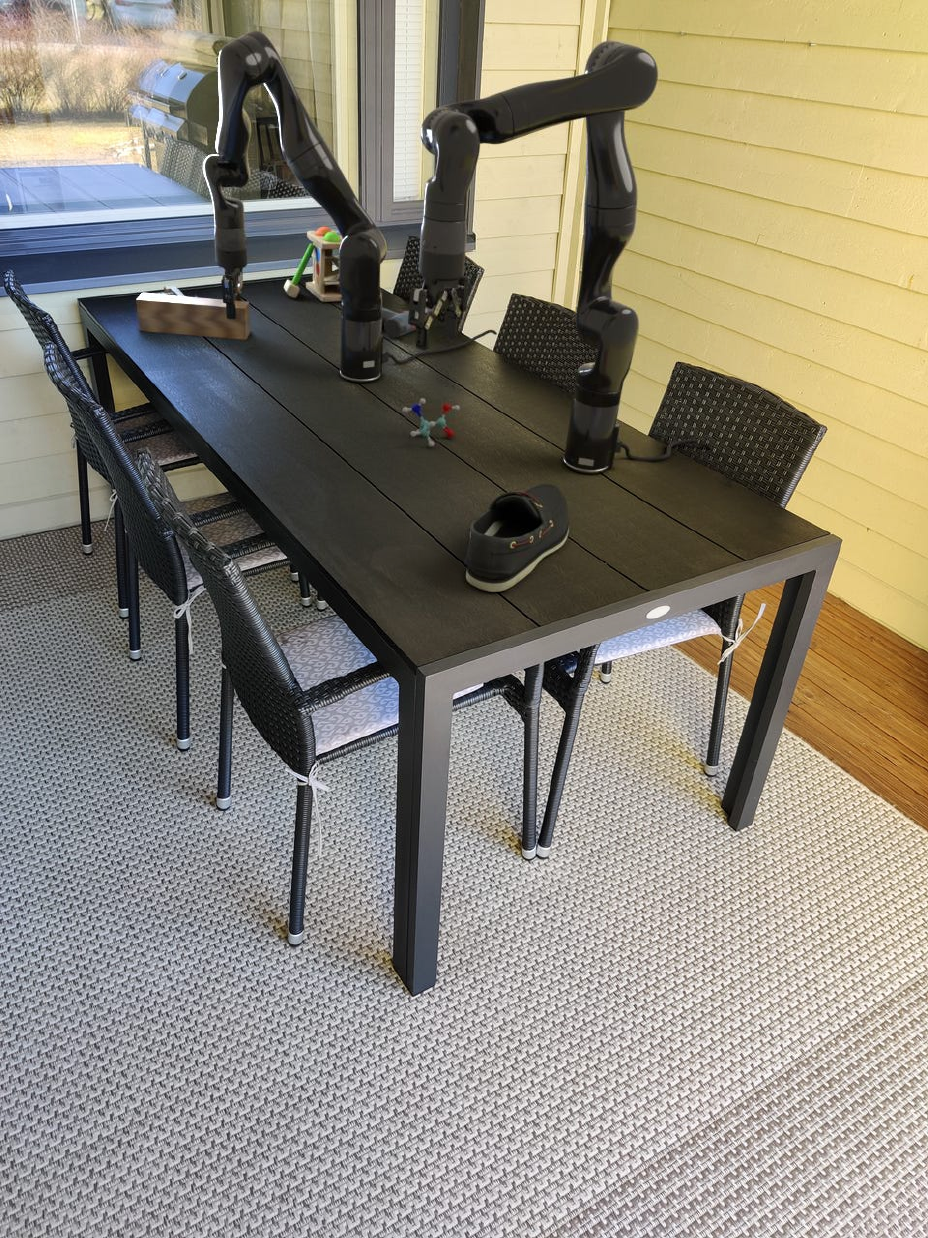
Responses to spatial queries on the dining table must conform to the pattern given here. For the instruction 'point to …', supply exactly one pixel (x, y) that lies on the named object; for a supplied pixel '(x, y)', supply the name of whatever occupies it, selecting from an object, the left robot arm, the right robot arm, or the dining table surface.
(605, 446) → the right robot arm
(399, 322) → the power drill
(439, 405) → the dining table surface
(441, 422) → the molecular model
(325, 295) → the pounding bench toy
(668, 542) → the dining table surface
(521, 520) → the boat shoe
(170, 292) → the clamp
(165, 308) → the bar
